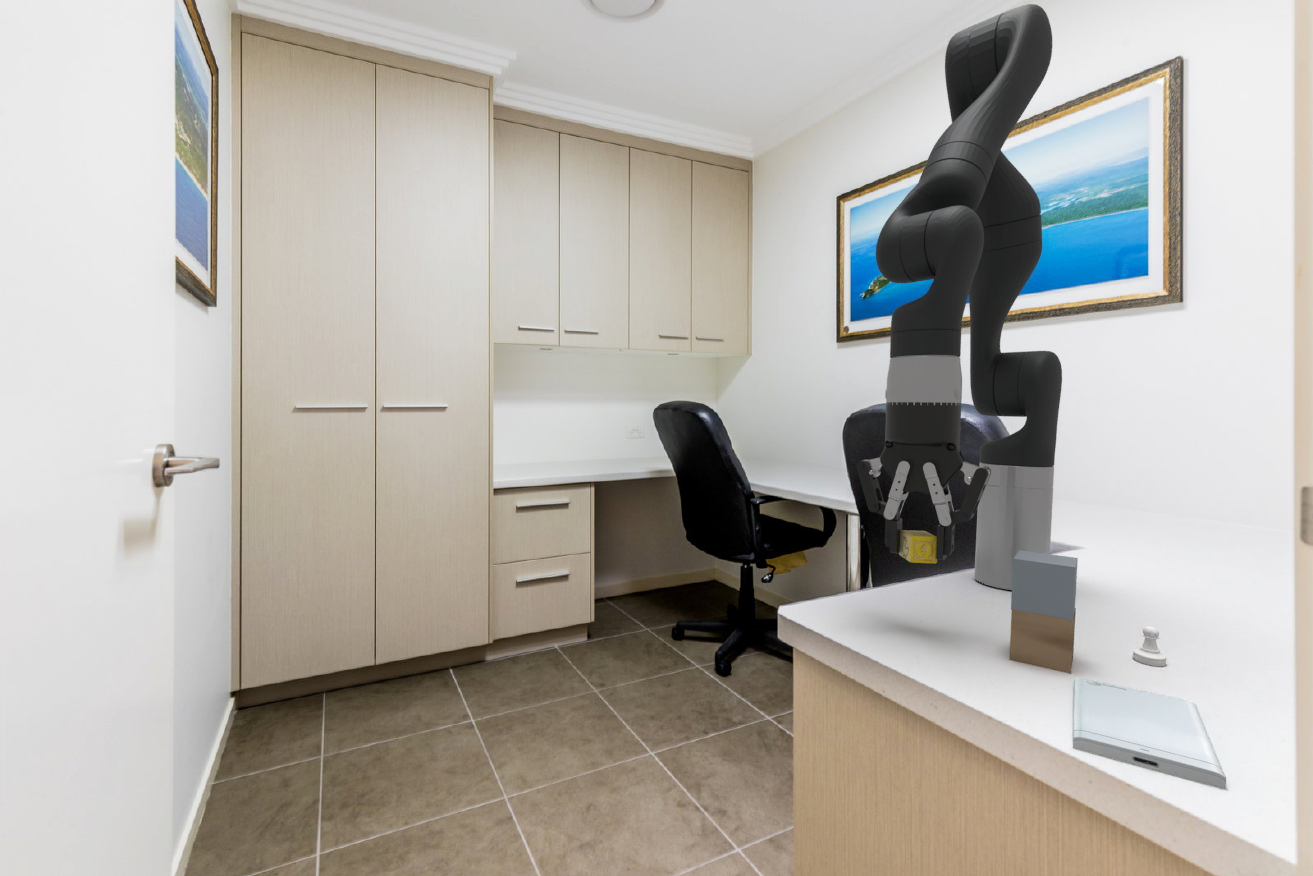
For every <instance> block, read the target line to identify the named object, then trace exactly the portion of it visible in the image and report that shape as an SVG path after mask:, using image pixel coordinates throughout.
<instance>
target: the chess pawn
mask: <svg viewBox="0 0 1313 876" xmlns="http://www.w3.org/2000/svg"><path fill="white" fill-rule="evenodd" d="M1159 636H1160V631H1159V629H1158V628H1157V627H1154V626H1151V625H1147V626H1144V627H1143V628H1142V637H1144V640H1143V643H1142V644H1141V645H1139V648H1135V649H1133V650H1132V651H1133V652H1132V659H1133V660H1134V661H1136V662H1137V663H1140V664H1142V665H1146V666H1150V667H1164V666H1167V656H1166V655H1165V654H1163V653H1161V650H1160V648H1159V647H1158V644H1157V640H1159V639H1160V638H1159Z"/></svg>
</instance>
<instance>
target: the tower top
mask: <svg viewBox="0 0 1313 876" xmlns="http://www.w3.org/2000/svg"><path fill="white" fill-rule="evenodd" d="M1078 559H1079V558H1078V557H1074V556H1066V555H1057V554H1051V553H1050V554H1044V553H1036V552H1029V551H1021V550H1019V552H1018V553H1017V554H1016V556H1015V557H1014V558H1013V576H1012V590H1011V598H1010V599H1011V601H1010V605H1011V606H1010V610H1011V611H1012V610H1017V611H1023V612H1028V613H1034V614H1039V615H1045V616H1050V617H1056V618H1061V619H1067V620H1072V621H1073V616H1074V610H1075V608H1076V596H1077V595H1076V593H1077V579H1078V578H1077V577H1078V576H1077V574H1078Z"/></svg>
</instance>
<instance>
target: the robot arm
mask: <svg viewBox="0 0 1313 876" xmlns="http://www.w3.org/2000/svg"><path fill="white" fill-rule="evenodd" d="M1047 14H1048V13H1047V12H1046V11H1045V10H1044V8H1043V7H1042V6H1040V5H1038V4H1033V3H1028V4H1024V5H1021V6H1018V7H1014V8H1012V9H1009V10H1006V11H1004V12H1002V13H999V14H997V15H994V16H992V17H990V18H987V19H985V20H983V21H981V22H978V23H976V24H973V25H971V26H968V27H965V28H964V29H962V30H959V31H957V33H955V34H954V35H953V36H952V37H950V40H949V41H948V43H947V46H946V51H945V56H944V57H945V58H944V75H945V76H944V77H945V86H946V93H947V101H948V106H949V107H948V108H949V113H950V118H951V124H950V125H948V127H946V129H945V130H944V131H943V132H942V134H941V135H940V136H939V138H938V139H937V141H936V142H935V144H934V145H933V148H932V150H931V152H930V153H929V155H928V157H927V161H926V163H925V165H924V168H923V169H922V172H921V175H920V178H919V180H918V183H917V184H915V186H914V187H913V188H912V189H911V190H910V191H909V192H908V193H907V195H906V196H905V197H904V198H903V199H902V201H901V202H900V203H899V204H898V205H897V207H896V208H895V209H894V210H893V211H892V213H891V214H890V215H889V217H888V219H886V221H885V222H884V225H883V227H882V228H881V230H880V232H879V236H878V238H877V242H876V246H875V261H876V265H877V269H878V270H879V272H880V274H881V275H882V277H884V278H885V279H886V280H887V281H889V282H892V283H894V284H911V283H916V282H923V281H930V280H933V281H932V282H931V285H930V287H929V288H928V289H927V292H926V293H925V294H923V295H922V296H920V297H919V298H917V299H915V300H914V299H913V300H912V301H909V302H907V303H903V304H902V305H900V306H898V307H896V308H895V309H894V311H893V313H892V314H891V315H892V316H891V319H890V320H891V321H890V344H889V345H890V346H889V347H890V349H889V358H890V359H889V365H888V372H887V377H886V389H885V402H886V404H885V431H884V435H885V436H884V446H883V450H882V452H881V453H880V455H879V457H876V458H871V459H863V460H859V461H858V462H857V463H856V465H855V466H856V470H857V474H858V477H859V481H860V485H861V488H862V491H863V495H864V498H865V501H866V507H867V508H868V509H867V510H869V512H871V513H876V514H878V515H881V516H882V517H883V518H884V521H885V522H884V525H885V526H884V545H885V548H889V553H890V554H897V555H899V547H900V531H901V530H903V518H902V517H901V513H902V510H903V507H904V504H905V502H906V500H907V497H908V496H909V493H914V492H920V493H922V494H926V495H930V496H931V497H930V498H931V501H932V504H933V506H934V507H935V511H936V515H937V519H938V521H939V524H938V525H937V526H936V537H937V545H936V559H937V561H938V560H939V561H945V560H946V559H947V557H948V556H950V555H952V553H953V551H954V549H955V528H956V524H960V523H967V522H969V521H970V520H971V519H973V518H974V516H975V514H976V515H977V516H976V517H977V518H976V536H975V537H976V539H975V551H974V552H975V555H974V556H975V557H974V558H975V559H974V575H973V577H975V578H974V580H975V579H976V580H977V582H978V581H979V583H980V582H982V583H981V584H983V583H984V584H983V585H986V586H989V587H994V588H997V589H1002V590H1009V591H1012V576H1013V558H1014V557H1015V556H1016V554H1017V553H1018V552H1019V550H1021V551H1029V552H1036V553H1044V554H1051V541H1052V539H1051V536H1052V519H1053V516H1052V515H1053V501H1054V500H1053V499H1054V475H1055V460H1056V459H1055V456H1056V449H1057V447H1056V446H1057V433H1058V421H1059V411H1060V403H1061V396H1062V394H1061V393H1062V385H1063V369H1062V364H1061V360H1060V359H1059V356H1058V355H1057V354H1056V353H1054V352H1053V351H1050V350H1032V351H1031V350H1030V351H1012V352H1011V351H1010V352H1009V351H1008V352H1002V351H1001V339H1002V332H1003V329H1004V328H1003V327H1004V324H1005V321H1006V319H1007V317H1008V314H1009V313H1010V311H1011V309H1012V307H1013V305H1014V303H1015V301H1016V300H1017V299H1018V297H1019V296H1020V293H1021V292H1022V290H1023V289H1024V287H1025V286H1026V284H1027V283H1028V281H1029V280H1030V278H1031V276H1032V275H1033V272H1034V271H1035V269H1036V268H1037V265H1038V264H1039V261H1040V259H1041V256H1042V254H1043V229H1042V226H1043V225H1042V223H1043V222H1042V215H1041V214H1042V207H1041V202H1040V198H1039V196H1038V194H1037V193H1036V191H1035V189H1034V188H1033V186H1032V185H1031V184H1030V182H1029V181H1028V180H1027V178H1026V177H1025V176H1023V174H1022V173H1021V172H1020V171H1019V169H1017V167H1016V166H1015V165H1014V164H1013V163H1012V162H1011V161H1010V160H1009V158H1008V157H1007V156H1006V155H1005V153H1003V151H1002V148H1003V146H1004V145H1005V142H1006V141H1007V139H1008V138H1009V136H1010V134H1011V132H1012V131H1013V129H1014V128H1015V127H1016V125H1017V123H1018V122H1019V120H1020V118H1022V116H1023V114H1024V112H1025V111H1026V109H1027V108H1028V106H1029V104H1030V102H1031V101H1032V99H1033V97H1034V96H1035V94H1036V93H1037V92H1038V89H1039V88H1040V86H1041V84H1042V82H1043V81H1044V79H1045V77H1046V74H1047V72H1048V70H1049V67H1050V66H1051V65H1050V64H1051V60H1052V55H1053V54H1052V53H1053V33H1052V32H1053V31H1052V27H1051V22H1050V19H1049V16H1048V15H1047ZM967 301H968V304H969V325H970V326H969V327H970V333H969V334H970V335H969V336H970V337H969V341H970V343H969V346H970V347H969V350H970V353H969V366H970V367H969V372H970V373H969V377H970V378H969V382H970V394H971V400H972V404H973V406H974V408H975V410H976V412H977V413H978V414H980V415H982V416H985V417H986V416H988V417H989V416H990V417H1008V418H1009V417H1014V418H1015V417H1018V418H1019V417H1020V418H1021V417H1022V418H1023V417H1024V418H1026V419H1025V423H1024V425H1023V426H1022V428H1020V429H1019V430H1017V431H1015V432H1013V433H1012V434H1011V433H1010V434H1009V435H1007V436H1005V437H1002V438H998V439H993V440H989V441H987V442H984V443H982V445H980V446H981V447H980V450H979V465H977V464H974V463H970V462H967V461H965V457H964V456H963V453H962V452H961V424H962V423H961V421H962V401H963V400H962V398H963V396H962V395H963V373H962V366H961V354H962V353H961V350H962V347H961V346H962V322H963V316H964V312H965V309H966V305H967ZM882 467H883V468H884V470H885V471H886V473H887V475H888V476H889V477H890V479H891V480H892V484H891V488H890V490H889V493H888V499H887V502H885V500H884V496H883V493H882V490H881V486H880V483H879V479H878V477H879V476H880V475H881V473H882V472H881V469H882ZM961 471H962V473H963V474H964V477H963V479H964V483H965V484H967V485H969V486H968V488H967V490H966V493H965V495H964V498H963V501H962V503H961V506H960V508H959V509H956V510H954V506H953V502H952V500H953V499H952V498H953V497H952V495H951V490H950V486H949V484H951V482H953V480H954V479H955V477H957V475H959V473H960V472H961ZM976 511H977V513H976ZM976 580H975V581H976Z"/></svg>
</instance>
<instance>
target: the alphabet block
mask: <svg viewBox="0 0 1313 876" xmlns="http://www.w3.org/2000/svg"><path fill="white" fill-rule="evenodd" d="M936 545H937V535H934V534H933V533H930V532H929V531H926V530H910V529H909V530H907V529H902V530H901V531H900V547H899V553H898V555H899V556H900V557H902V558H903V559H905V560H906V561H908V562H909V563H911V564H912V563H913V564H937V563H938V559H936Z"/></svg>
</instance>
